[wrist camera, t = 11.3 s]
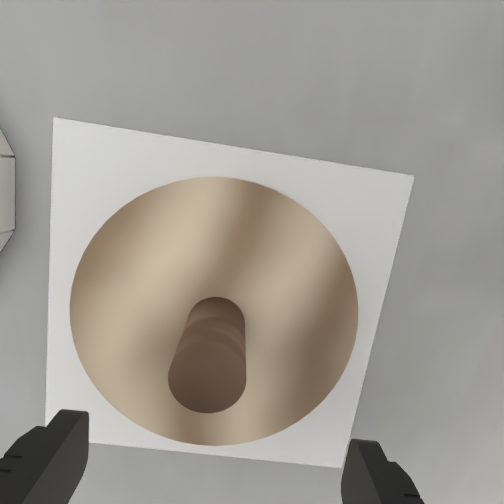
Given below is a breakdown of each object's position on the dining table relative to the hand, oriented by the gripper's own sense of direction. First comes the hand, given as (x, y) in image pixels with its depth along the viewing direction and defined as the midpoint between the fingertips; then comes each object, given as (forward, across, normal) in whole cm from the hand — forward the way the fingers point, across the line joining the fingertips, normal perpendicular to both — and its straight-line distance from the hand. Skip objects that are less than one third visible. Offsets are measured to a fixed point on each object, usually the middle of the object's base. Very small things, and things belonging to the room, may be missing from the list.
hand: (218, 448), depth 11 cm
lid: (+9, +1, 0) cm, 9 cm away
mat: (+9, +1, 0) cm, 9 cm away
